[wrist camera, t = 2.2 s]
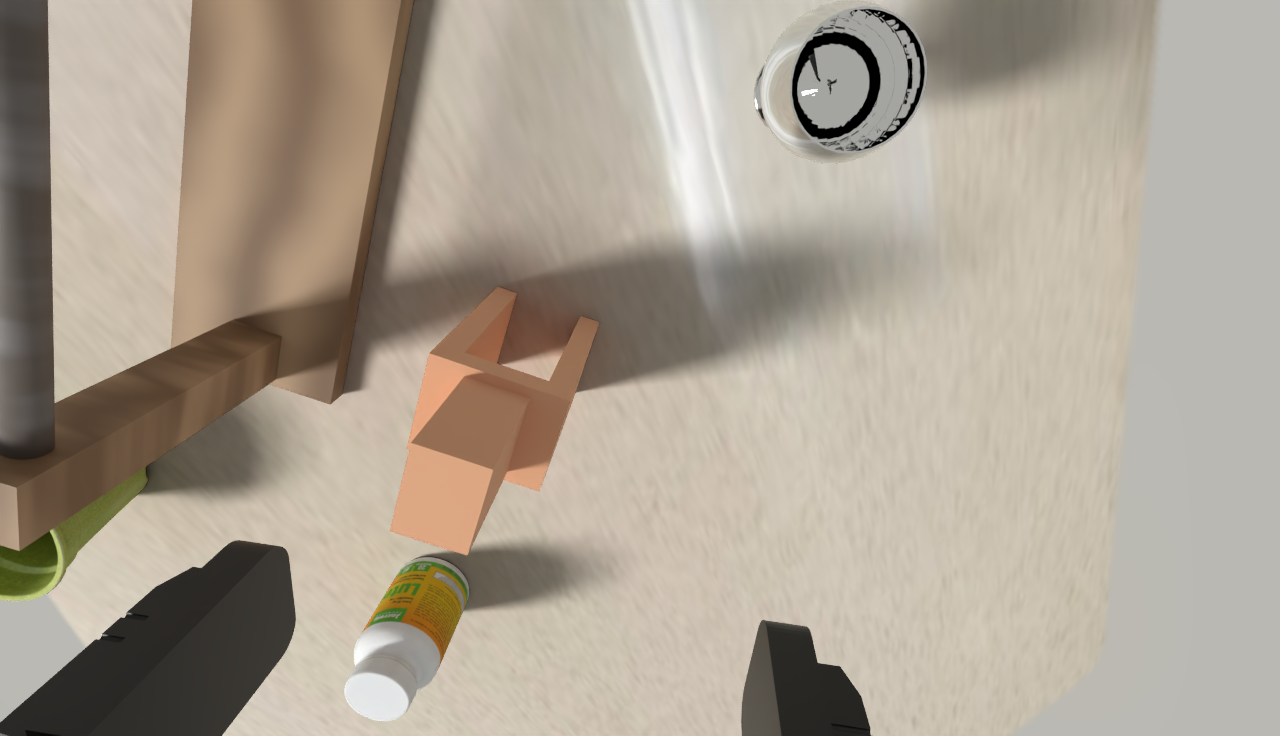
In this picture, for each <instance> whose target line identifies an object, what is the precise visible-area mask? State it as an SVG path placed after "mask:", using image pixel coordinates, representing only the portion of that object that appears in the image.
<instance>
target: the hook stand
mask: <svg viewBox="0 0 1280 736" xmlns="http://www.w3.org/2000/svg"><path fill="white" fill-rule="evenodd" d="M413 2H414V0H193V1H192V17H191V33H190V49H189V65H188V82H187V98H186V114H185V130H184V146H183V163H182V179H181V195H180V211H179V227H178V244H177V260H176V276H175V292H174V308H173V325H172V341H171V349H169V350H167V351H165V352H163V353H161V354H159V355H157V356H154V357H152V358H150V359H148V360H146V361H144V362H142V363H140V364H137V365H135V366H133V367H131V368H129V369H127V370H125V371H123V372H120V373H118V374H116V375H114V376H112V377H110V378H108V379H105V380H103V381H101V382H99V383H97V384H95V385H93V386H91V387H88V388H86V389H84V390H82V391H80V392H78V393H76V394H74V395H71V396H69V397H67V398H65V399H63V400H61V401H59V402H57V403H54V346H53V287H52V228H51V169H50V110H49V51H48V0H0V545H1V546H4V547H8V548H11V549H14V550H18V551H20V550H22V549H23V548H25V547H26V546H28V545H29V544H31V543H32V542H34V541H35V540H37V539H38V538H40V537H41V536H43V535H44V534H46V533H47V532H49V531H50V530H52V529H53V528H55V527H56V526H58V525H59V524H61V523H62V522H64V521H65V520H67V519H68V518H70V517H71V516H73V515H74V514H76V513H77V512H79V511H80V510H82V509H83V508H85V507H86V506H88V505H89V504H91V503H92V502H94V501H95V500H97V499H98V498H100V497H101V496H103V495H104V494H106V493H107V492H109V491H110V490H112V489H113V488H115V487H116V486H118V485H119V484H121V483H122V482H123V481H125V480H126V479H128V478H129V477H131V476H132V475H134V474H135V473H137V472H138V471H140V470H141V469H143V468H144V467H146V466H147V465H149V464H150V463H152V462H153V461H155V460H156V459H158V458H159V457H161V456H162V455H164V454H165V453H167V452H168V451H170V450H171V449H173V448H174V447H176V446H177V445H179V444H180V443H182V442H183V441H185V440H186V439H188V438H189V437H191V436H192V435H194V434H195V433H197V432H198V431H200V430H201V429H203V428H204V427H206V426H207V425H209V424H210V423H212V422H213V421H215V420H216V419H218V418H219V417H221V416H222V415H224V414H225V413H227V412H228V411H230V410H231V409H233V408H234V407H236V406H237V405H239V404H240V403H242V402H243V401H245V400H246V399H248V398H249V397H251V396H252V395H254V394H255V393H257V392H258V391H260V390H261V389H263V388H264V387H265V386H267V385H268V384H270V385H273V386H276V387H279V388H282V389H285V390H288V391H291V392H294V393H297V394H300V395H303V396H306V397H309V398H312V399H315V400H318V401H321V402H324V403H327V404H331V403H333V402H334V401H335V400H336V399H337V398H339V397H340V396H341V395H342V393H343V387H344V382H345V376H346V371H347V365H348V360H349V354H350V349H351V343H352V338H353V332H354V327H355V321H356V316H357V310H358V305H359V299H360V294H361V288H362V283H363V277H364V272H365V266H366V261H367V255H368V250H369V244H370V239H371V233H372V228H373V222H374V217H375V211H376V206H377V200H378V195H379V189H380V184H381V178H382V173H383V167H384V162H385V156H386V151H387V145H388V140H389V134H390V129H391V123H392V118H393V112H394V107H395V101H396V96H397V90H398V85H399V79H400V74H401V68H402V63H403V57H404V52H405V46H406V41H407V35H408V30H409V24H410V19H411V13H412V8H413Z"/></svg>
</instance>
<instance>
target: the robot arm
mask: <svg viewBox="0 0 1280 736" xmlns="http://www.w3.org/2000/svg"><path fill="white" fill-rule="evenodd" d="M295 621H296V615H295V606H294V598H293V589H292V581H291V572H290V564H289V556H288V553H287V551H286V549H285V548H283V547H280V546H274V545H267V544H260V543H253V542H247V541H240V540H238V541H233V542H231V543H229V544H228V545H227V546H225V547H224V548H223V549H222V550H221V551H220V552H219V553H218V554H217V555H216V556H214V557H213V558H212V559H211V560H210V561H209V562H208V563H207V564H206V565H205V566H203V567H202V568H197V567H192V568H190V569H189V570H187V571H185V572H183V573H181V574H179V575H177V576H175V577H174V578H172V579H170V580H168V581H166V582H164V583H162V584H160V585H159V586H157V587H155V588H154V589H153V590H152V591H151V592H150V593H148V594H147V595H146V596H145V597H144V598H143V599H142V600H140V601H139V602H138V603H137V604H136V605H135V606H134V607H132V608H131V609H130V610H129V611H128V612H127V615H126V617H125V618H120V619H119V620H117V621H116V622H115V623H114V624H113V625H112V626H111V627H109V628H108V629H107V630H106V631H105V632H104V633H103V634H102V637H101V639H100V640H94V641H93V642H92V643H91V644H90V645H89V646H88V647H86V648H85V649H84V650H83V651H82V652H81V653H80V654H78V655H77V656H76V657H75V658H74V659H73V660H72V661H70V662H69V663H68V664H67V665H66V666H65V667H63V668H62V669H61V670H60V671H59V672H58V673H57V674H55V675H54V676H53V677H52V678H51V679H50V680H49V681H48V682H46V683H45V684H44V685H43V686H42V687H40V688H39V689H38V690H37V691H36V692H35V693H34V694H32V695H31V696H30V697H29V698H28V699H27V700H26V701H24V702H23V703H22V704H21V705H20V706H19V707H18V708H16V709H15V710H14V711H13V712H12V713H11V714H9V715H8V716H7V717H6V718H5V719H4V720H3V721H2V722H0V736H222V735H223V733H224V732H225V731H226V729H227V728H228V727H229V725H230V724H231V723H232V722H233V720H234V719H235V718H236V716H237V715H238V714H239V712H240V711H241V710H242V708H243V707H244V706H245V705H246V703H247V702H248V701H249V699H250V698H251V697H252V695H253V694H254V693H255V692H256V690H257V689H258V688H259V686H260V685H261V684H262V682H263V681H264V680H265V678H266V677H267V676H268V675H269V673H270V672H271V671H272V669H273V668H274V667H275V665H276V664H277V663H278V662H279V660H280V659H281V658H282V656H283V655H284V653H285V651H286V650H287V648H288V646H289V643H290V641H291V639H292V635H293V632H294V628H295ZM741 723H742V736H871V735H870V726H869V722H868V719H867V715H866V712H865V708H864V705H863V701H862V698H861V696H860V694H859V693H858V691H857V690H856V688H855V687H854V686H853V684H852V683H851V681H850V680H849V679H848V677H847V676H846V674H845V673H844V671H843V670H842V669H841V667H840V666H833V665H827V664H820V663H817V658H816V654H815V649H814V645H813V640H812V636H811V632H810V630H809V628H808V627H805V626H799V625H792V624H785V623H778V622H772V621H765V620H762V621H761V623H760V625H759V628H758V632H757V636H756V641H755V645H754V649H753V653H752V657H751V661H750V666H749V670H748V674H747V678H746V682H745V687H744V693H743V701H742V719H741Z"/></svg>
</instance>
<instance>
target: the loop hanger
mask: <svg viewBox="0 0 1280 736" xmlns="http://www.w3.org/2000/svg"><path fill="white" fill-rule="evenodd" d="M516 295H517V293H515V292H512V291H509V290H506V289H503V288H500V287H497V288H496V289H495V290H494V291H493V292H492V293H491V294H490V295H489V296H488V297H487V298H485V299H484V300H483V301H482V302H481V303H480V304H479V305H478V306H477V307H476V308H475V309H474V310H473V311H472V312H471V313H470V314H469V315H468V316H467V317H466V318H465V319H464V320H463V321H462V322H461V323H460V324H459V325H458V326H457V327H456V328H455V329H454V330H453V331H452V332H451V333H450V334H449V335H447V336H446V337H445V338H444V339H443V340H442V341H441V342H440V343H439V344H438V345H437V346H436V347H435V348H434V349H433V350H432V351H431V352H430V353H429V356H428V361H427V365H426V369H425V373H424V378H423V382H422V386H421V390H420V395H419V399H418V403H417V407H416V412H415V416H414V420H413V424H412V429H411V433H410V437H409V441H408V446H407V448H408V449H409V453H408V457H407V461H406V465H405V470H404V474H403V478H402V482H401V486H400V491H399V495H398V499H397V503H396V507H395V512H394V516H393V520H392V524H391V528H390V531H391V532H394V533H397V534H400V535H404V536H407V537H410V538H413V539H416V540H419V541H423V542H426V543H429V544H432V545H435V546H438V547H442V548H445V549H448V550H451V551H454V552H457V553H461V554H464V555H468V553H469V551H470V549H471V547H472V545H473V543H474V541H475V539H476V536H477V534H478V532H479V530H480V528H481V526H482V524H483V522H484V520H485V517H486V515H487V513H488V511H489V509H490V507H491V505H492V503H493V501H494V499H495V496H496V494H497V492H498V490H499V488H500V486H501V484H502V482H503V480H505V481H509V482H512V483H515V484H518V485H521V486H524V487H527V488H530V489H533V490H536V491H540V488H541V486H542V483H543V480H544V477H545V475H546V472H547V469H548V466H549V464H550V461H551V458H552V456H553V453H554V450H555V447H556V445H557V442H558V439H559V436H560V434H561V431H562V428H563V425H564V423H565V420H566V417H567V414H568V412H569V409H570V406H571V404H572V401H573V398H574V395H575V393H576V390H577V387H578V384H579V381H580V378H581V375H582V372H583V369H584V366H585V363H586V360H587V358H588V355H589V352H590V349H591V346H592V343H593V340H594V337H595V334H596V331H597V328H598V325H599V323H600V322H597V321H595V320H592V319H589V318H586V317H583V316H580V318H579V320H578V322H577V324H576V327H575V329H574V331H573V333H572V335H571V337H570V339H569V341H568V343H567V345H566V348H565V350H564V352H563V354H562V356H561V358H560V360H559V362H558V364H557V366H556V368H555V371H554V373H553V375H552V377H551V379H550V381H547V380H544V379H541V378H538V377H535V376H532V375H529V374H526V373H523V372H520V371H517V370H514V369H511V368H508V367H506V366H503V365H500V364H497V362H498V359H499V355H500V352H501V348H502V345H503V341H504V338H505V334H506V331H507V327H508V323H509V320H510V316H511V313H512V309H513V306H514V302H515V299H516Z"/></svg>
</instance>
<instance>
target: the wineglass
mask: <svg viewBox="0 0 1280 736" xmlns="http://www.w3.org/2000/svg"><path fill="white" fill-rule="evenodd" d="M926 81H927V60H926V55H925V50H924V47H923V45H922V43H921V40H920V38H919V36H918V34H917V33H916V31H915V30H914V29H913V28H912V26H911V25H910V24H909V23H908V22H907V21H906V20H905V19H903V18H902V17H901V16H900V15H899V14H897V13H896V12H894V11H892V10H890V9H888V8H886V7H884V6H882V5H879V4H876V3H872V2H868V1H860V0H844V1H838V2H834V3H830V4H826V5H822V6H819V7H818V8H816V9H814V10H812V11H810V12H808V13H806V14H804V15H803V16H801V17H800V18H799V19H797V20H796V21H795V22H793V23H792V24H791V25H790V26H789V27H788V28H787V29H786V30H785V31H784V32H783V33H782V34H781V36H780V37H779V38H778V40H777V41H776V43H775V44H774V46H773V47H772V49H771V51H770V53H769V55H768V57H767V60H766V63H765V64H764V65H763V67H762V68H761V70H760V72H759V74H758V77H757V79H756V83H755V88H754V102H755V107H756V111H757V113H758V115H759V118H760V119H761V121H762V122H763V123H764V125H765V126H766V127H767V128H769V129H770V131H771V133H772V134H773V135H774V137H775V138H776V139H777V141H778V142H779V143H780V144H781V145H782V146H783V147H785V148H786V149H787V150H788V151H790V152H791V153H793V154H794V155H796V156H798V157H800V158H803V159H806V160H809V161H812V162H817V163H833V164H838V163H843V162H849V161H853V160H856V159H859V158H862V157H865V156H867V155H869V154H871V153H873V152H875V151H877V150H879V149H880V148H882V147H883V146H885V145H886V144H887V143H888V142H890V141H891V140H892V139H893V138H894V137H896V136H897V135H898V134H899V133H900V132H901V131H902V130H903V129H904V128H905V127H906V126H907V124H908V123H909V122H910V121H911V119H912V118H913V116H914V115H915V113H916V111H917V109H918V107H919V106H920V103H921V100H922V98H923V95H924V92H925V86H926Z"/></svg>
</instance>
